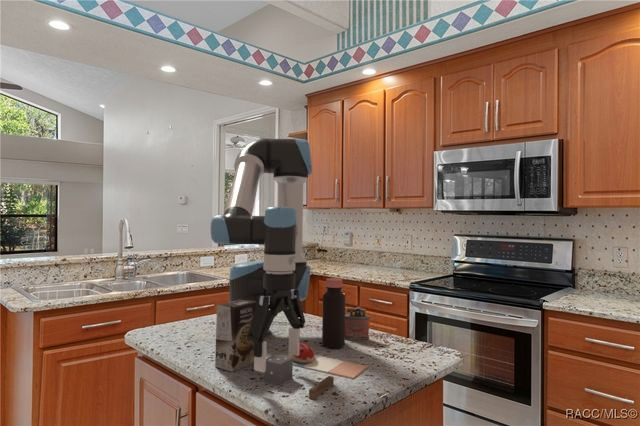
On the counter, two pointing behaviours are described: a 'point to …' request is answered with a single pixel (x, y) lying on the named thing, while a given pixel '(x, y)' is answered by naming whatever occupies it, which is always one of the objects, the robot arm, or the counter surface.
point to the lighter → (356, 325)
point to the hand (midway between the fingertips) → (277, 362)
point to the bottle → (333, 315)
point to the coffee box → (234, 335)
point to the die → (278, 369)
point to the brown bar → (321, 387)
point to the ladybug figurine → (304, 354)
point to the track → (333, 366)
